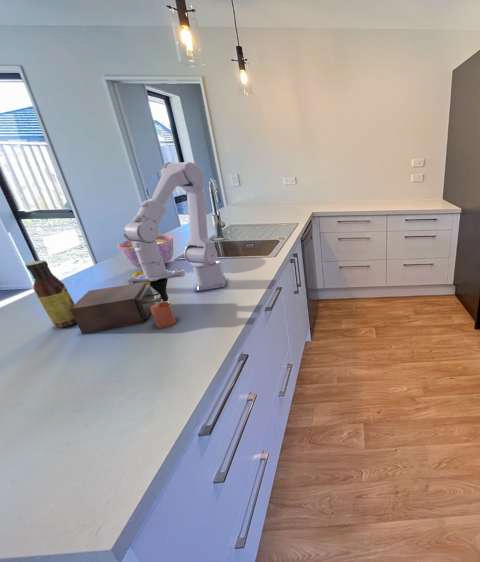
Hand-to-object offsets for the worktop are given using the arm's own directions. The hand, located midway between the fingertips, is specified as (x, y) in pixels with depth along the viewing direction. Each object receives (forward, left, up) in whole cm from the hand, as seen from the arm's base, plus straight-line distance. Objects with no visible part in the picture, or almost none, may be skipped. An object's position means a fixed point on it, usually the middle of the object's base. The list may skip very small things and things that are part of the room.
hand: (165, 300), depth 97 cm
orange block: (-1, +10, -3) cm, 11 cm away
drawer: (+9, 0, -2) cm, 10 cm away
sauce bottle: (+27, -3, -4) cm, 27 cm away
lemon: (+11, -20, -4) cm, 23 cm away
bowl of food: (+14, -50, -4) cm, 52 cm away
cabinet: (+13, 0, -3) cm, 13 cm away
